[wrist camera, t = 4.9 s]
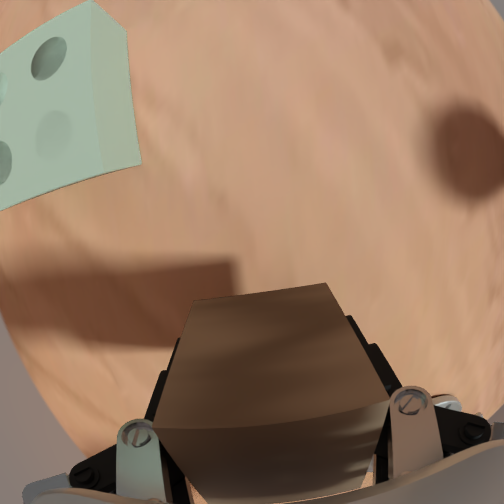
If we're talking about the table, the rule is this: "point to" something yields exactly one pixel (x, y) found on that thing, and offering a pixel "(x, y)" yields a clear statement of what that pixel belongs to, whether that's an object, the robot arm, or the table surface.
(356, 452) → the walnut block
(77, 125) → the base brick
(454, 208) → the table surface
